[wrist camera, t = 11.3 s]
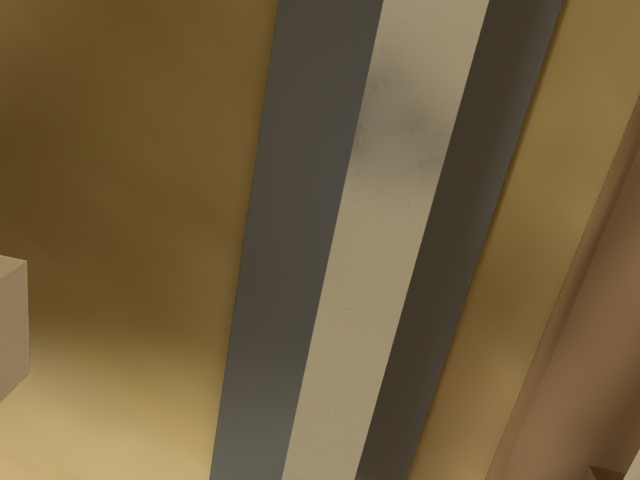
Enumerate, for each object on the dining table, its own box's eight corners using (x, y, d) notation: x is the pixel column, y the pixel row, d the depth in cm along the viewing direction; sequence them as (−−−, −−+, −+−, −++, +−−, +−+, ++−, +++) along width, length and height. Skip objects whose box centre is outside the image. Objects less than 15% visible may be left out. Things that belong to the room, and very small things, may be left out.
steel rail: (286, 458, 28) (271, 524, 24) (426, -199, 17) (439, -262, 14) (343, 471, 28) (337, 539, 24) (518, -182, 17) (556, -240, 14)
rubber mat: (211, 477, 29) (208, 484, 29) (330, -335, 17) (328, -346, 16) (390, 518, 29) (390, 525, 29) (648, -277, 16) (656, -286, 16)
